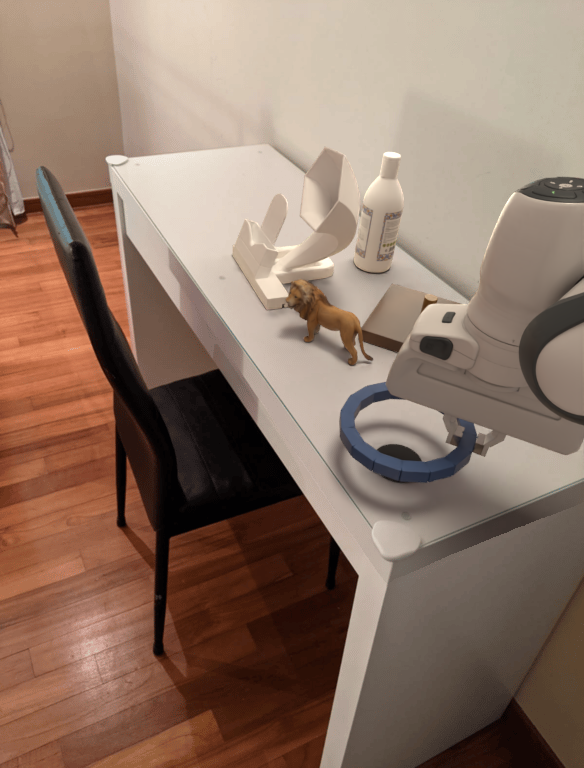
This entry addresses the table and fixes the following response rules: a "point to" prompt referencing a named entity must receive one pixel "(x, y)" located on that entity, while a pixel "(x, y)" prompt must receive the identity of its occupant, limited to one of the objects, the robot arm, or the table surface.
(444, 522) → the table surface
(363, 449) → the ring
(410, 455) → the mat
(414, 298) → the platform
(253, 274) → the jewelry stand
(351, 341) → the lion figurine
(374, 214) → the bath foam
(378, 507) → the table surface
